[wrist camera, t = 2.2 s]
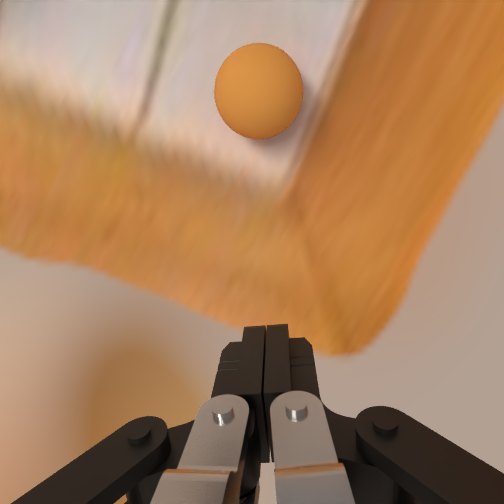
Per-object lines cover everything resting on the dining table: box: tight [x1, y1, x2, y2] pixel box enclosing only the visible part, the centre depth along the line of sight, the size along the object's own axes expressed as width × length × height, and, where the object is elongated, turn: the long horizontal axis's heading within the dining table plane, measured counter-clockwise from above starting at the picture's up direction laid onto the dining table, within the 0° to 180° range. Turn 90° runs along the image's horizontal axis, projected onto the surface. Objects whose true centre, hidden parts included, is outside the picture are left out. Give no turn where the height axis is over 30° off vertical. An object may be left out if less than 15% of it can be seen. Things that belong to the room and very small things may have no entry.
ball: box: [214, 43, 303, 139], centre depth 24 cm, size 6×6×6 cm
